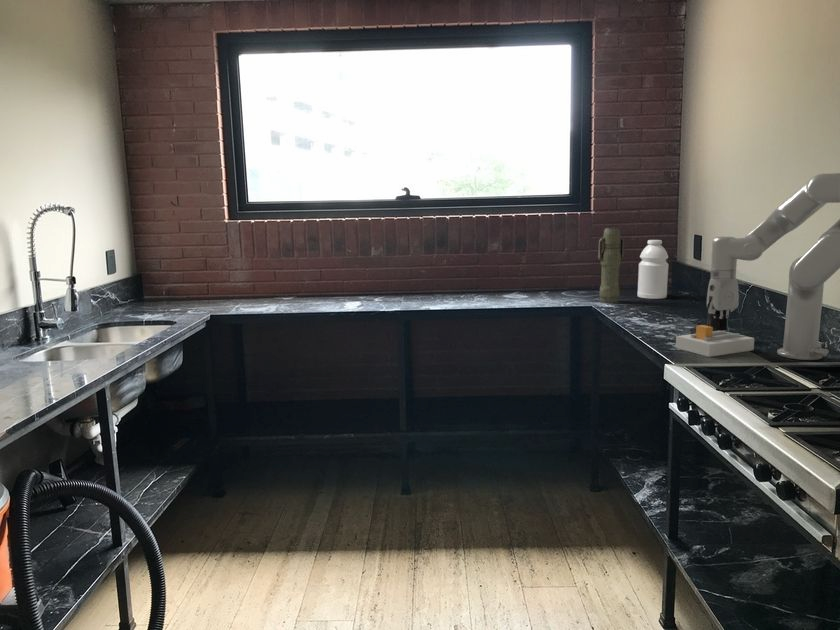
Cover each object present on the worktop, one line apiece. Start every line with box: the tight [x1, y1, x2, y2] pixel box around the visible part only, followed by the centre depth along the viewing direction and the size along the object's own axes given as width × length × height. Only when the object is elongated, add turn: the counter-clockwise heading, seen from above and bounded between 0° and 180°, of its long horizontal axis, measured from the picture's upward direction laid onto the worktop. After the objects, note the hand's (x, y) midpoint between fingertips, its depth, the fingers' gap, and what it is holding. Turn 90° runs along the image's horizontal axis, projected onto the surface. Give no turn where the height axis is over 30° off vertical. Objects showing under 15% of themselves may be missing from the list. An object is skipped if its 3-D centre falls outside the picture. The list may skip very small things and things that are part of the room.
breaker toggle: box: [695, 324, 713, 340], centre depth 221 cm, size 4×3×4 cm
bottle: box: [636, 239, 669, 300], centre depth 332 cm, size 14×14×28 cm
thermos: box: [597, 226, 625, 304], centre depth 319 cm, size 9×12×35 cm
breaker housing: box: [675, 330, 755, 358], centre depth 224 cm, size 14×20×5 cm
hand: (720, 329), depth 224 cm, fingers closed
